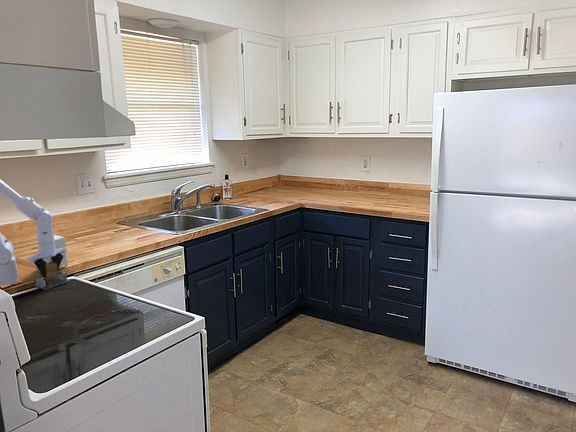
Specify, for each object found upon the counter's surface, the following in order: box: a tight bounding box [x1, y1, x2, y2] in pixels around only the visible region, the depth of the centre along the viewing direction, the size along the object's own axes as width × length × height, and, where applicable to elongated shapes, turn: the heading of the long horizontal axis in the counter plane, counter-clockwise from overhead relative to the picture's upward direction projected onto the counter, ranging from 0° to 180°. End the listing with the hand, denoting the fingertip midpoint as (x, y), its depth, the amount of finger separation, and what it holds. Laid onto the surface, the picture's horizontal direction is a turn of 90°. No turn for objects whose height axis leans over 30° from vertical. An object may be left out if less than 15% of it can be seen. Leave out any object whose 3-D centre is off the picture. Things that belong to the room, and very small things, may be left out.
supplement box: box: [43, 234, 68, 267], centre depth 190 cm, size 7×7×13 cm
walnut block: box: [43, 261, 58, 282], centre depth 179 cm, size 3×4×6 cm
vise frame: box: [34, 270, 71, 291], centre depth 174 cm, size 6×10×3 cm, turn 149°
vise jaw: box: [35, 278, 46, 289], centre depth 170 cm, size 4×2×3 cm, turn 59°
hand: (50, 274), depth 180 cm, fingers closed on walnut block, 4 cm apart
